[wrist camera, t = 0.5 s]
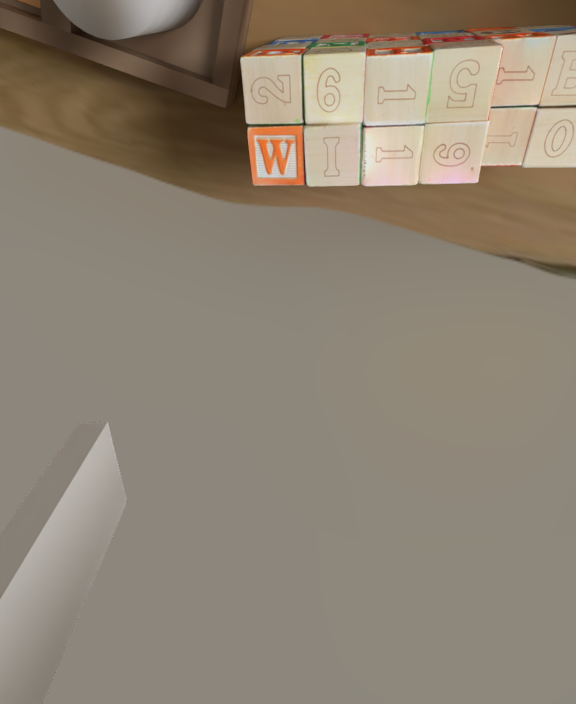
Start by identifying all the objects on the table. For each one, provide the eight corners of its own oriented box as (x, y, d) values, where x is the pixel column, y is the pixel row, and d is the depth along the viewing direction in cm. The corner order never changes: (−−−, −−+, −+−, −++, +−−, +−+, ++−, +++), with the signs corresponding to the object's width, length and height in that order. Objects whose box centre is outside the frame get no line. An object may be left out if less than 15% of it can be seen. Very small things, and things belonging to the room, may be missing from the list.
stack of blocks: (617, 19, 27) (746, 32, 18) (579, 129, 31) (669, 188, 22) (279, 36, 30) (236, 55, 21) (284, 134, 34) (249, 187, 25)
